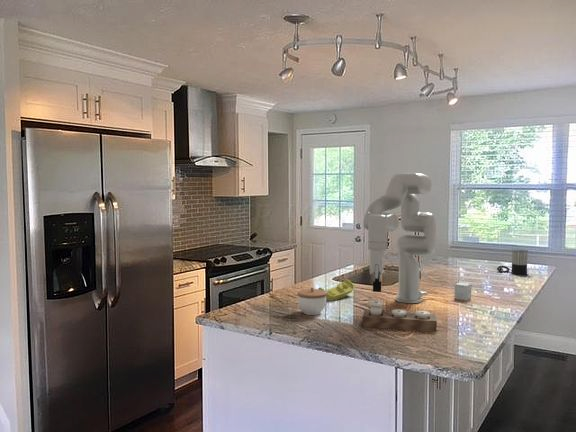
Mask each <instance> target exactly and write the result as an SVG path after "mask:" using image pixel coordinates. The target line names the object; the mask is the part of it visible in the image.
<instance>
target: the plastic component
mask: <svg viewBox="0 0 576 432" xmlns="http://www.w3.org/2000/svg"><path fill="white" fill-rule="evenodd" d="M355 287H356V285H355V284H354V283H353V282H352V281H350V280H349V279H348V278H346V279H344V280H343V281H341V282H340V283H338V284H337V286H334V287H331V288H328V289H324V288H323V287H319V288H317V289H318V290H323V291H326V292H327V296H326V301H330V302H334V301H337V300H341V299H342V298H345V297H347V295H349V294H350V293H352V292H353V291H354V290H355V289H356V288H355Z"/></svg>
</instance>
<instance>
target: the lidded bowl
mask: <svg viewBox="0 0 576 432" xmlns="http://www.w3.org/2000/svg"><path fill="white" fill-rule="evenodd" d="M318 289H319V288H317V289H316V288H314V287H310V288H308V289H300V290H299V291H297V303H298V306H299V308H300V310H301V311H302V312H303V315H307V316H308V315H309V316H317V315H320V314H321V312H323V311H324V309H325V307H326V304H327V299H326V296H327V292H326V291H323V290H318Z"/></svg>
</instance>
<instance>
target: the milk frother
mask: <svg viewBox="0 0 576 432" xmlns="http://www.w3.org/2000/svg"><path fill="white" fill-rule="evenodd" d="M511 252H512V253H511V269H510V268H509V267H508V266H506V265H500V266H498V267H497V268H496V270H497V271H498V272H499V273H509V272H510V274H512V275H517V276H526V275H528V254H529V253H528V252H529V250H527V249H521V248H520V249H518V248H517V249H516V248H515V249H511ZM504 269H506V270H504Z"/></svg>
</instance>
